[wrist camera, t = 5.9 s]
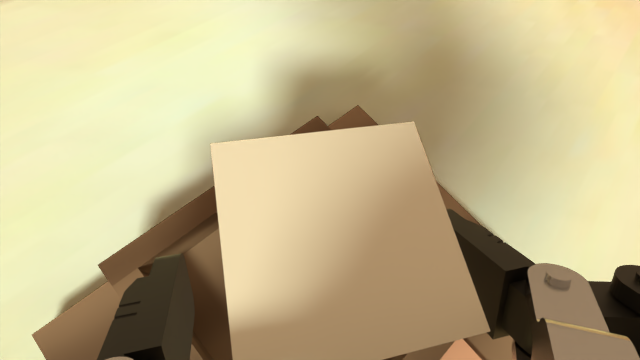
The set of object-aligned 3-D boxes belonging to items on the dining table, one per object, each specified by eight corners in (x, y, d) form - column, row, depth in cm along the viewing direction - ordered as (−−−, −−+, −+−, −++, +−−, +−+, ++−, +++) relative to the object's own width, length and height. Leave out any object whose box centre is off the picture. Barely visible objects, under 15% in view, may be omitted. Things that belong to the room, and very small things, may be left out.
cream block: (253, 362, 14) (237, 397, 6) (238, 242, 16) (210, 143, 8) (369, 334, 15) (490, 331, 7) (342, 224, 17) (413, 121, 9)
